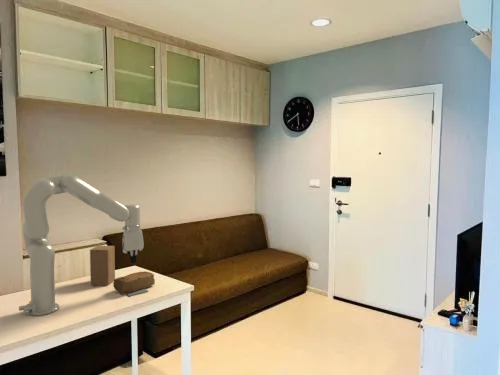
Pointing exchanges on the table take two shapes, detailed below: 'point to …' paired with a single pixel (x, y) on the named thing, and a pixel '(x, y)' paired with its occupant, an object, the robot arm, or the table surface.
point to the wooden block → (102, 265)
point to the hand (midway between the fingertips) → (133, 262)
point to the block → (133, 282)
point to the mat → (136, 292)
